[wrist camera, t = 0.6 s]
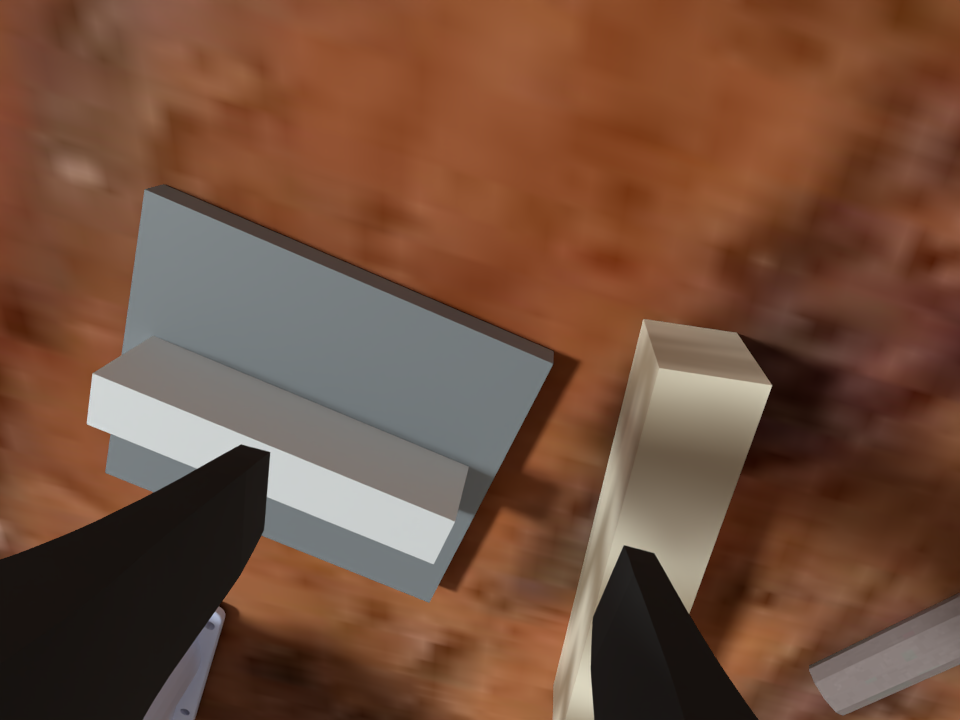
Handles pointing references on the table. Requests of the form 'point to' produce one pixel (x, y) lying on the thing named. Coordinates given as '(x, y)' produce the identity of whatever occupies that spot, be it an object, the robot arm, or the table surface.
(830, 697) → the metal rod
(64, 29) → the table surface
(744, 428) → the birch beam
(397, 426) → the grey stepped base
